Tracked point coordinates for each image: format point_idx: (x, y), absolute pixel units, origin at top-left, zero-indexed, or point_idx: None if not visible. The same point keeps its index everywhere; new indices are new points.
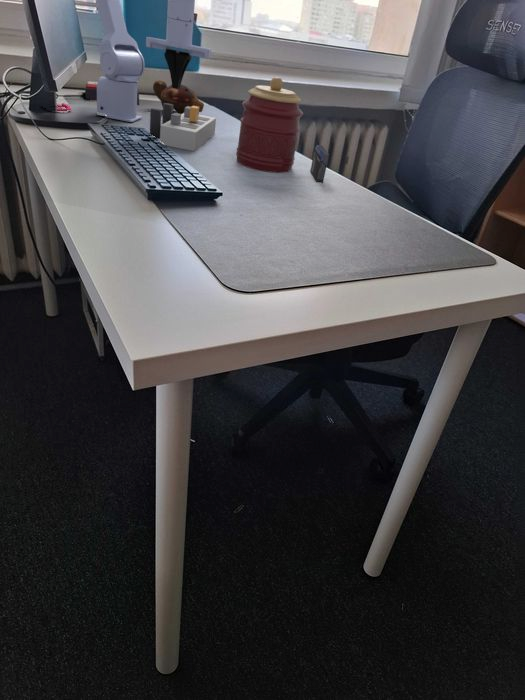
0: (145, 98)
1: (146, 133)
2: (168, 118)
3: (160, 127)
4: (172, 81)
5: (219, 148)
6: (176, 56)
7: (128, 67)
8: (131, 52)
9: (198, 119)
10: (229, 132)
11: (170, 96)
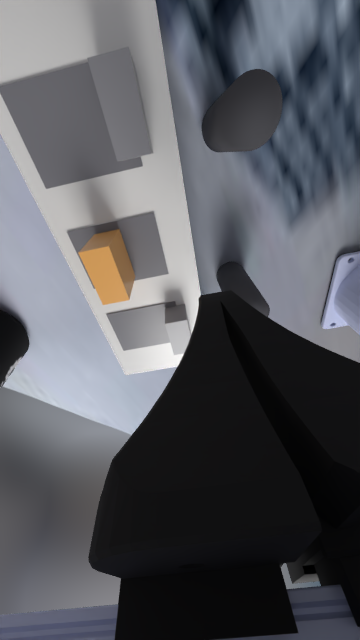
0: None
1: (265, 161)
2: (231, 280)
3: (208, 132)
4: (240, 301)
5: (6, 207)
6: (278, 478)
7: None
8: None
9: (133, 308)
10: (125, 385)
11: None
